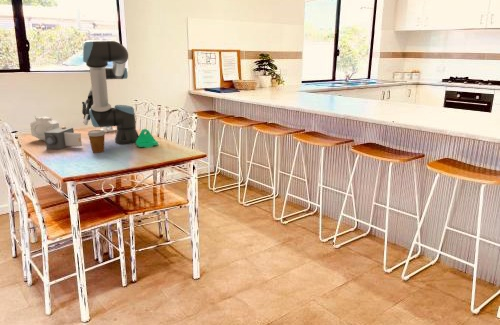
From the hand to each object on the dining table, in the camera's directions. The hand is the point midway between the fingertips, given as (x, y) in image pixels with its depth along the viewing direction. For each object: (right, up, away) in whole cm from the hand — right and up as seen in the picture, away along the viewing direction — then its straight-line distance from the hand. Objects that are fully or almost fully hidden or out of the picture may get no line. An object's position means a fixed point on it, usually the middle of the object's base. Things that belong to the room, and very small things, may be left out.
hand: (85, 123), depth 258 cm
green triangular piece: (+42, -15, -8) cm, 45 cm away
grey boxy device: (-12, -15, -8) cm, 21 cm away
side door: (-2, -15, -11) cm, 19 cm away
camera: (-28, -11, +7) cm, 31 cm away
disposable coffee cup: (+16, -18, -21) cm, 32 cm away
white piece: (0, -1, +41) cm, 41 cm away
